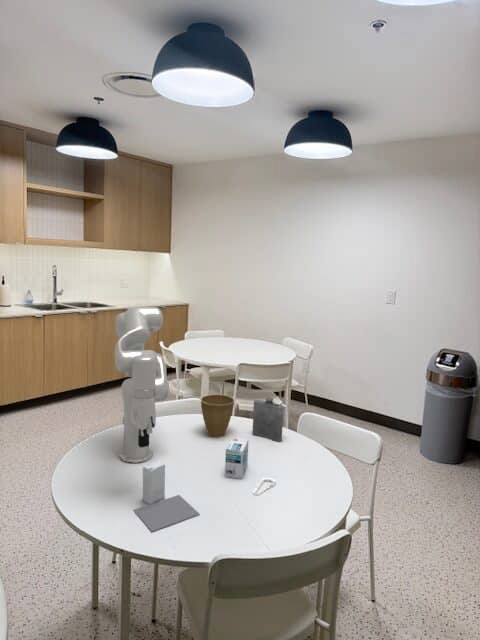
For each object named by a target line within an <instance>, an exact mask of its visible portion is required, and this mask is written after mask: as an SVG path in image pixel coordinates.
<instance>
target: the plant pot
mask: <svg viewBox="0 0 480 640" xmlns="http://www.w3.org/2000/svg"><path fill="white" fill-rule="evenodd" d="M200 404H201V413H202V418H203V421H204V422H203V423H204V426H205V430H206V432H207V434H208V435H209V436H210V437H214V438H219V437H223V436H225V434H226V433H227V430H228V427H229V424H230V421H231V417H232V414H233V410H234V405H235V399H234V397H232V396H229V395H223V394H207V395H204V396H202V397H201V398H200Z"/></svg>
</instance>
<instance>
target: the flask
mask: <svg viewBox="0 0 480 640" xmlns="http://www.w3.org/2000/svg"><path fill="white" fill-rule="evenodd" d="M252 412H253V413H252V414H253V416H252V433H251V435H253V436H255V437H259V438H263V439H267V440H270V441H274V442H277V443H282V441H283V425H284V424H283V423H284V405H281V404H279V403H276V402H274V398H273V397H265V400H260V399H253V411H252Z"/></svg>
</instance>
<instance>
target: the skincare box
mask: <svg viewBox="0 0 480 640" xmlns="http://www.w3.org/2000/svg"><path fill="white" fill-rule="evenodd" d="M165 486H166V464H165V463H164V462H162V461H159V460H154V461H153V462H150V463H148V464H146V465H143V466H142V501H143V500H144V502H145V503H147V505H150V504H153V503H156V502H159V501H162V500H164V498H165V495H166V494H165V493H166V491H165V490H166V487H165ZM165 499H166V498H165Z"/></svg>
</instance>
